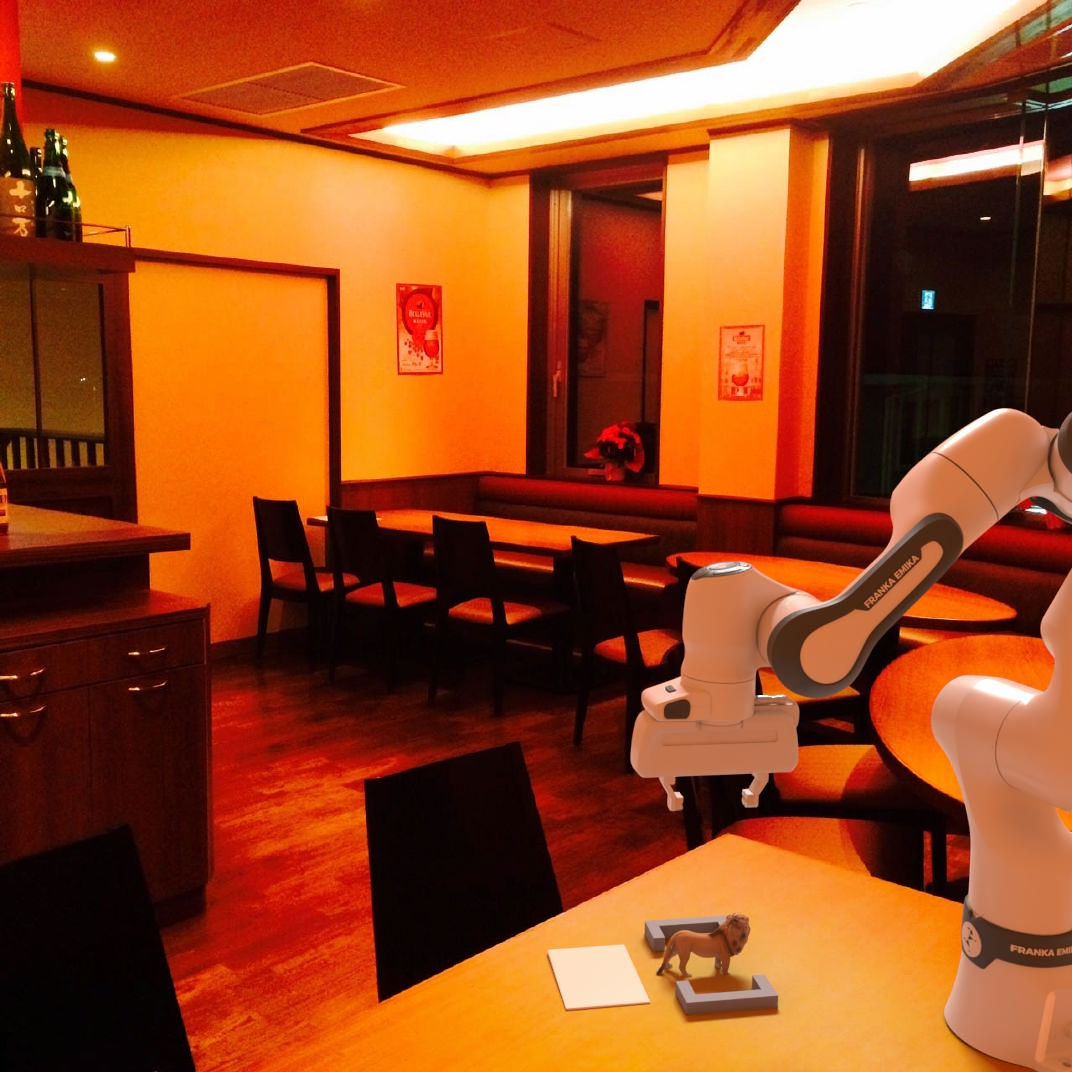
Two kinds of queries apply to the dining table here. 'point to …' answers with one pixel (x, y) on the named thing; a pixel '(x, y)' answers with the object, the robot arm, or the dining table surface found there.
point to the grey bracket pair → (711, 1002)
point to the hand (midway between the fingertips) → (712, 807)
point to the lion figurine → (709, 944)
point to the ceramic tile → (596, 977)
